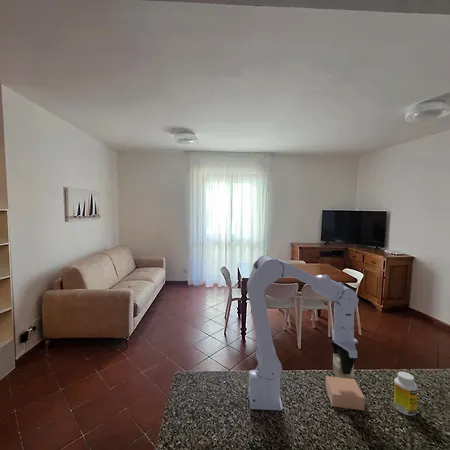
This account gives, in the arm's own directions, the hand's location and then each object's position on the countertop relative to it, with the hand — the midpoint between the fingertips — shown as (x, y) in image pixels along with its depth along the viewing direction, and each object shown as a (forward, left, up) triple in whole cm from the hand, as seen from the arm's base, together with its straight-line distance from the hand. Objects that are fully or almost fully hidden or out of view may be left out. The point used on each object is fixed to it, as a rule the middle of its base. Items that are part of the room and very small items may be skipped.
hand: (342, 368), depth 80 cm
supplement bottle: (+17, -3, -10) cm, 20 cm away
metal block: (0, 0, -1) cm, 1 cm away
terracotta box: (+1, +1, -10) cm, 10 cm away
